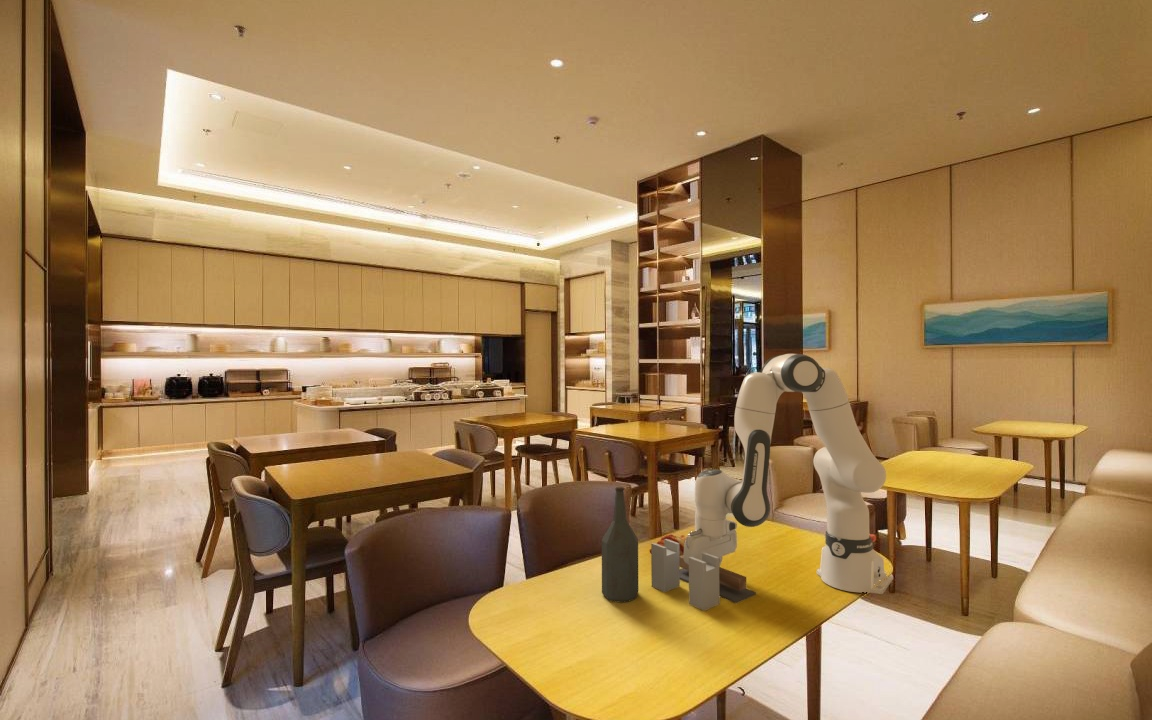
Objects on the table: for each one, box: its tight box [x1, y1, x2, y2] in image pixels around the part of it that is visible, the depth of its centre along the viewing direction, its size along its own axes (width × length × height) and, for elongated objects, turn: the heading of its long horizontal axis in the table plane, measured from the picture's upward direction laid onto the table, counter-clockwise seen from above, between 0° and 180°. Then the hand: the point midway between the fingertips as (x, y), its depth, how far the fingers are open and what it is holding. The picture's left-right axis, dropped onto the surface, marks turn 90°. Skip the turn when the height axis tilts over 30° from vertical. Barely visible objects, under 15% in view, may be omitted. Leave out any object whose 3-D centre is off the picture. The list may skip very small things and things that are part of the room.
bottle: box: [601, 486, 639, 603], centre depth 146 cm, size 10×10×30 cm
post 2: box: [688, 552, 721, 612], centre depth 140 cm, size 6×5×12 cm
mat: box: [680, 568, 757, 604], centre depth 152 cm, size 9×24×1 cm, turn 37°
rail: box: [680, 555, 747, 591], centre depth 152 cm, size 3×22×3 cm, turn 37°
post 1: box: [650, 539, 681, 593], centre depth 151 cm, size 6×5×12 cm
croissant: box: [649, 533, 687, 556], centre depth 178 cm, size 21×10×8 cm, turn 120°
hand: (710, 573), depth 152 cm, fingers closed on rail, 3 cm apart
